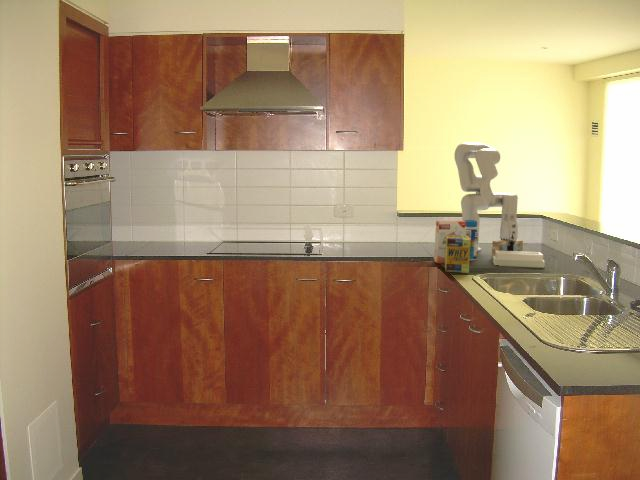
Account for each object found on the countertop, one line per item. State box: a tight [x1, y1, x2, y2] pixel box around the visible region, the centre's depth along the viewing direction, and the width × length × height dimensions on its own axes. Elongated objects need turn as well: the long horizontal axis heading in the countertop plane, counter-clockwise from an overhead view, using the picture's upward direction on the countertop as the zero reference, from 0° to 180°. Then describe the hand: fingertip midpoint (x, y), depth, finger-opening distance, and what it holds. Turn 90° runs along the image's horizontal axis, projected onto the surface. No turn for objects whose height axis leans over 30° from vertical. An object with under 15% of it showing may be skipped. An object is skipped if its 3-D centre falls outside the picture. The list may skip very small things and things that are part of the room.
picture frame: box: [491, 239, 524, 259], centre depth 317 cm, size 16×4×9 cm, turn 110°
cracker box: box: [433, 220, 467, 264], centre depth 300 cm, size 14×6×21 cm, turn 96°
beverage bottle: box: [464, 220, 479, 262], centre depth 310 cm, size 8×8×20 cm
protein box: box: [444, 235, 470, 274], centre depth 282 cm, size 10×15×16 cm
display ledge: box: [492, 251, 546, 269], centre depth 297 cm, size 23×10×6 cm, turn 79°
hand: (507, 251), depth 318 cm, fingers closed on picture frame, 4 cm apart
